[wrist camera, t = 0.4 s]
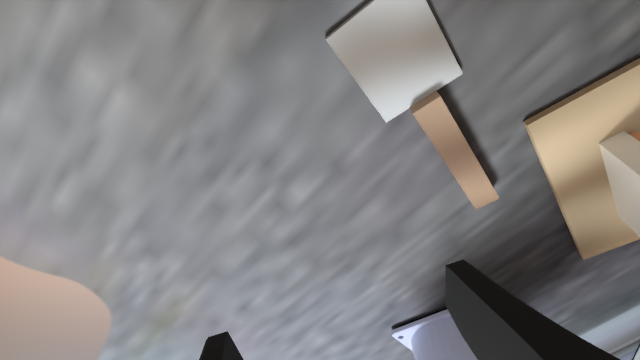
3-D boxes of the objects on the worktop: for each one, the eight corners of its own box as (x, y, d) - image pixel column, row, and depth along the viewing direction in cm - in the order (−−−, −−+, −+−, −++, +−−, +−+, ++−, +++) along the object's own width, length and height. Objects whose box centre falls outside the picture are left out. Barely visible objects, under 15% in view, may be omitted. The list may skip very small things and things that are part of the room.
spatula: (513, 176, 20) (522, 187, 19) (449, 207, 21) (455, 219, 20) (408, -31, 13) (415, -27, 12) (325, 36, 14) (326, 44, 13)
